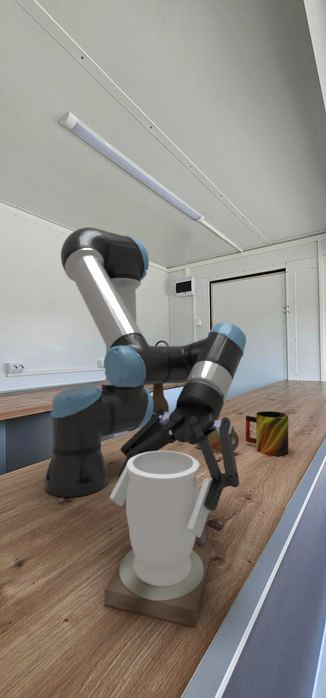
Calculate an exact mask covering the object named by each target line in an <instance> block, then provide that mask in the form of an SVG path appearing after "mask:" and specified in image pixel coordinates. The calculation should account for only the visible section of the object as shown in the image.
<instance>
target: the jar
mask: <svg viewBox="0 0 326 698" xmlns="http://www.w3.org/2000/svg"><path fill="white" fill-rule="evenodd" d="M127 472H128V474H129V475H130V479H129V483H128V489H127V498H126V500H125V502H126V503H125V506H126V507H125V510H126V520H127V526H128V529H129V530H128V532H129V541H130V545H131V546H132V549H133V551H134V554H135V558H134V562H133V568H134V571H135V573H136V575H137V576H138V577H139V578H140V579H141V580H142V581H143V582H145V583H147V584H150V585H153V586H160V587H164V586H171V585H175V584H177V583H179V582H181V581H183V580H184V579H185V578H186V577H187V576H188V575H189V573H190V571H191V566H192V563H191V559H190V554H191V551H192V549H193V545H194V541H195V539H196V536H195V535H194V534H193V533H192V532H191V531H190V530H189V529H188V528H187V527H188V524H189V521H190V518H191V516H192V513H193V510H194V507H195V505H196V502H197V499H198V496H199V493H200V491H199V486H198V480H197V475H198V474H199V472H200V462H199V461H198V460H197V458H196V457H193V456H192V455H190V454H187V453H184V452H179V451H173V450H158V451H151V452H145V453H141V454H138V455H136V456H133V457H132V458H130V459H129V460H128V462H127Z"/></svg>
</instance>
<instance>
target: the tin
mask: <svg viewBox="0 0 326 698" xmlns="http://www.w3.org/2000/svg"><path fill="white" fill-rule="evenodd" d="M207 438H208V440H209V442H210V445H211V448H212V451H213V453H216V454H217V453H218V454H222V449H221V442H220V435H219V433H218V431H217V429H216V430H215V431H214V432H212V433H211V434H210V435H208V436H207ZM232 443H233V449H234V451H236V450H237V449H238V447H239V443H240V438H239V435H238V432H236V430H235V429H234V431H233V435H232ZM195 445H196V446H197V448H198V449H200V450H201V448H200V445H199V443H196V444H195Z"/></svg>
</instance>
